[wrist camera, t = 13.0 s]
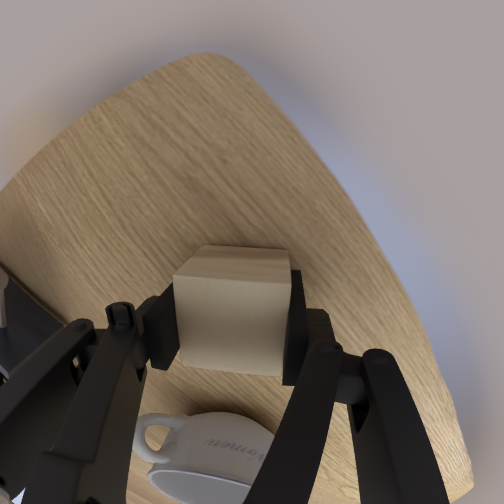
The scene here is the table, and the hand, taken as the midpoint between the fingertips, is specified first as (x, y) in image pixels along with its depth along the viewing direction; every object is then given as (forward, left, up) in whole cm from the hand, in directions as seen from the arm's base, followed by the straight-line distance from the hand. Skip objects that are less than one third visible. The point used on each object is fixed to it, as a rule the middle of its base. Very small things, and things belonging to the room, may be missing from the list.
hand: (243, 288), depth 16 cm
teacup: (+14, -2, -1) cm, 14 cm away
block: (0, 0, 0) cm, 0 cm away
